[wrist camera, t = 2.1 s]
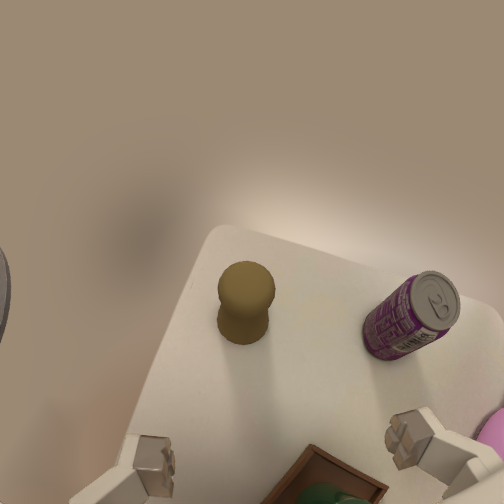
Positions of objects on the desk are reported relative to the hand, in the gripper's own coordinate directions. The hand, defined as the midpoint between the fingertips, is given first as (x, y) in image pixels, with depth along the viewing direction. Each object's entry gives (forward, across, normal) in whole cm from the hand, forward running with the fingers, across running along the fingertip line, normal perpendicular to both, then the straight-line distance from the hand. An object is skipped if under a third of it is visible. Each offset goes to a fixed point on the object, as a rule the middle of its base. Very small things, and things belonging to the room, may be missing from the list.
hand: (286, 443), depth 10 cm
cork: (+26, 0, +9) cm, 28 cm away
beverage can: (+24, -18, +11) cm, 32 cm away
